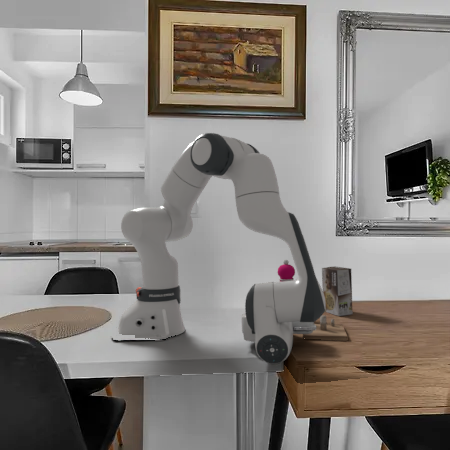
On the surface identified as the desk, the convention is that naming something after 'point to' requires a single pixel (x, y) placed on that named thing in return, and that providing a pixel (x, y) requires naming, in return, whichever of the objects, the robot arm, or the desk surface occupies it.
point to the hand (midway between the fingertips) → (278, 315)
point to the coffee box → (337, 290)
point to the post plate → (327, 331)
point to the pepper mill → (286, 272)
